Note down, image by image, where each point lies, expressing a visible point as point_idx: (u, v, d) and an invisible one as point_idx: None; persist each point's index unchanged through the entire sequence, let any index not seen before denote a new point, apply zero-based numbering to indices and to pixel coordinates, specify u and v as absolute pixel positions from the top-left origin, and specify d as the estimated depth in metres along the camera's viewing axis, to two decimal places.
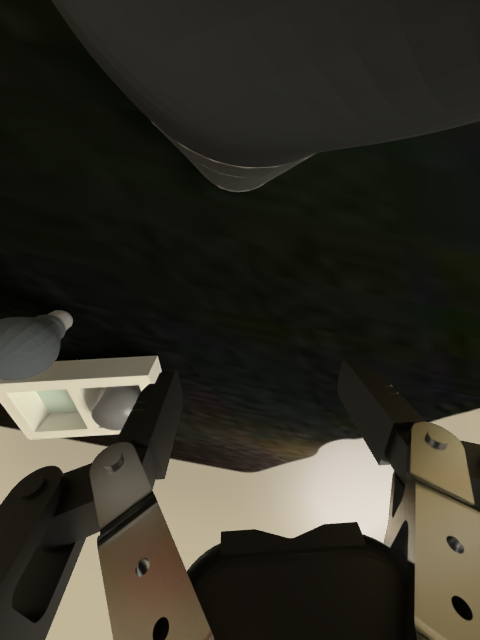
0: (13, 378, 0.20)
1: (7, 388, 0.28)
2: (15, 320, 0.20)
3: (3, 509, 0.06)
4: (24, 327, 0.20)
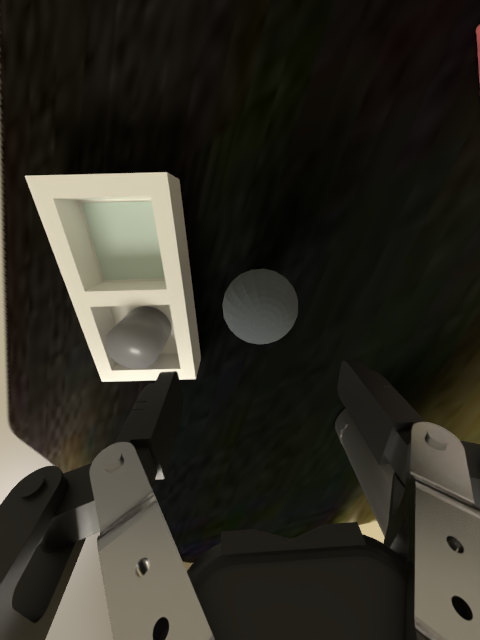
0: (239, 327, 0.16)
1: (161, 203, 0.17)
2: None
3: (3, 509, 0.06)
4: None
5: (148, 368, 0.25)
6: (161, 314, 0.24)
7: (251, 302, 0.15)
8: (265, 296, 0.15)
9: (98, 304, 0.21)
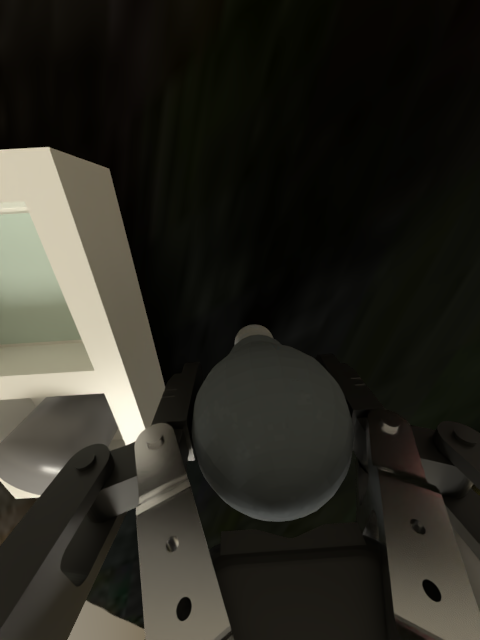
0: (227, 501, 0.07)
1: (52, 217, 0.08)
2: None
3: (61, 476, 0.06)
4: None
5: None
6: None
7: (254, 464, 0.06)
8: (288, 448, 0.06)
9: None
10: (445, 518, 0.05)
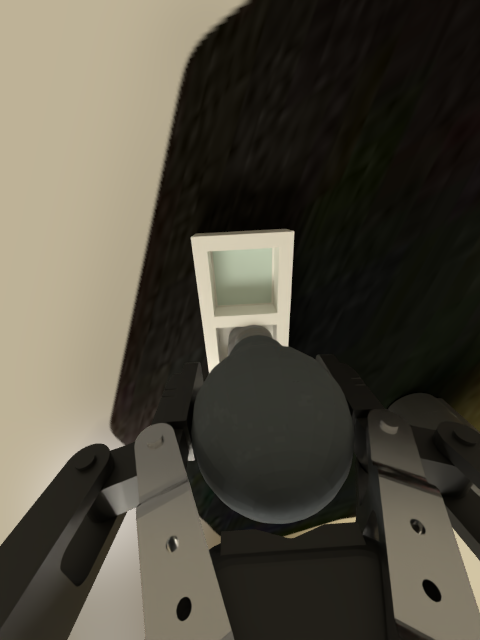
0: (227, 503, 0.07)
1: (286, 252, 0.24)
2: None
3: (61, 476, 0.06)
4: None
5: None
6: None
7: (254, 466, 0.06)
8: (288, 450, 0.06)
9: (222, 326, 0.27)
10: (444, 518, 0.05)
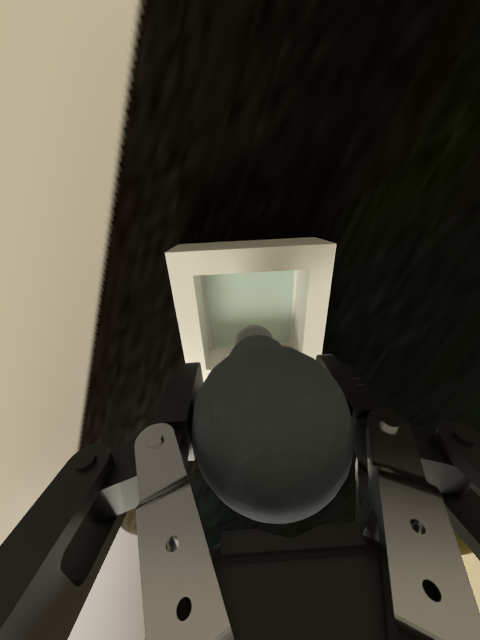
0: (227, 503, 0.07)
1: (321, 277, 0.15)
2: None
3: (61, 476, 0.06)
4: None
5: None
6: None
7: (254, 466, 0.06)
8: (288, 450, 0.06)
9: None
10: (444, 517, 0.05)
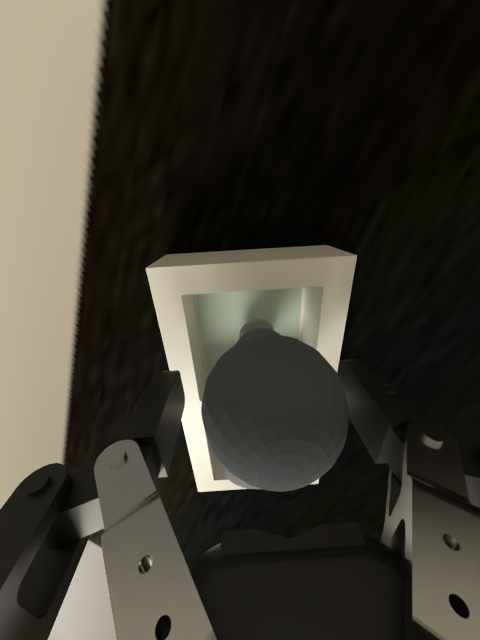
0: (235, 472, 0.08)
1: (337, 295, 0.12)
2: None
3: (9, 505, 0.06)
4: None
5: None
6: None
7: (259, 436, 0.07)
8: (289, 422, 0.07)
9: None
10: None
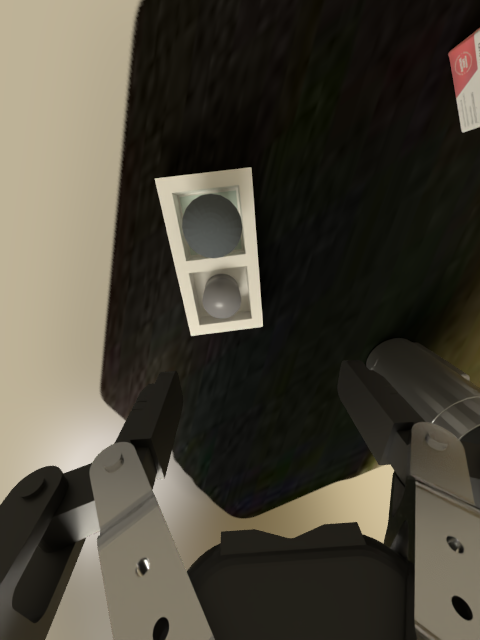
0: (194, 237, 0.21)
1: (246, 189, 0.25)
2: (241, 232, 0.23)
3: (3, 509, 0.06)
4: (237, 243, 0.23)
5: (227, 321, 0.32)
6: (233, 278, 0.32)
7: (199, 213, 0.20)
8: (209, 207, 0.20)
9: (195, 270, 0.28)
10: None
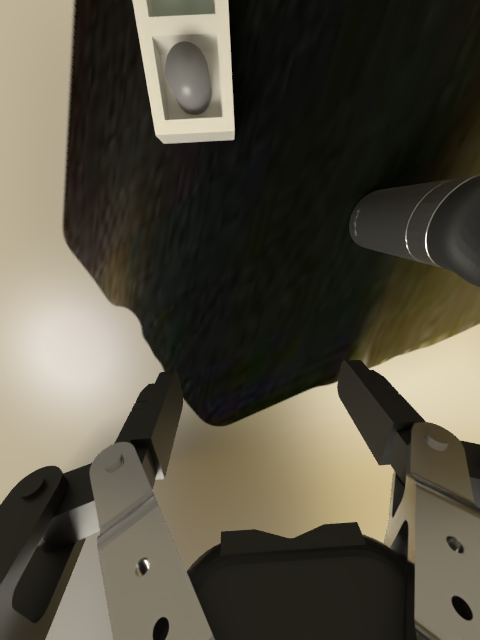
0: None
1: None
2: None
3: (3, 509, 0.06)
4: None
5: (195, 118, 0.29)
6: None
7: None
8: None
9: (159, 33, 0.26)
10: None
